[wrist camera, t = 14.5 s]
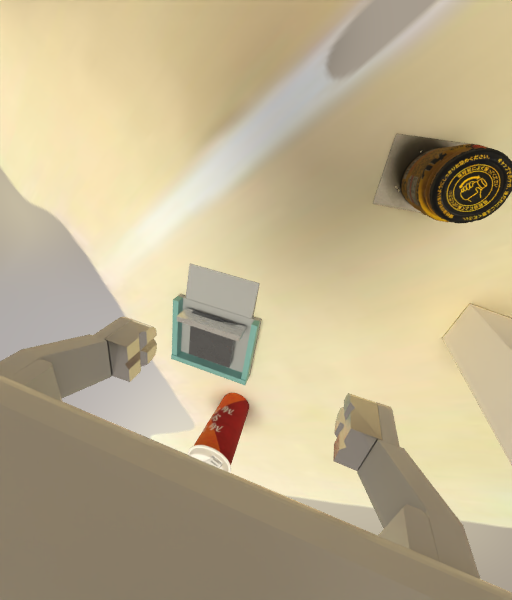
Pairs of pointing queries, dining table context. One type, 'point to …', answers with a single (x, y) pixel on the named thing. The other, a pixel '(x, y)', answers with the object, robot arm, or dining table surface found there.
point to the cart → (211, 336)
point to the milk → (486, 365)
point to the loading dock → (222, 304)
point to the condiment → (444, 179)
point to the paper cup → (222, 433)
